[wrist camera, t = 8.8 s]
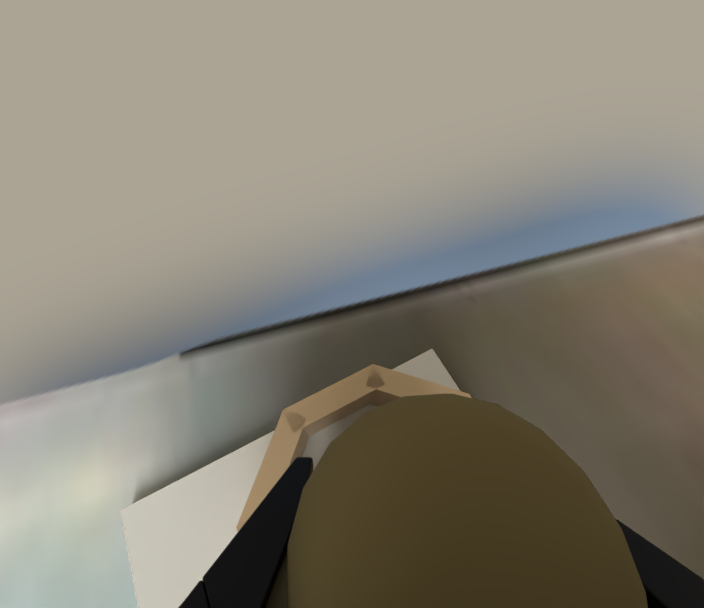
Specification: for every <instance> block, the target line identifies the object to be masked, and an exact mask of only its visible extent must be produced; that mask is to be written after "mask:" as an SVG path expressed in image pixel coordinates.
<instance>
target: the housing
mask: <svg viewBox="0 0 704 608" xmlns="http://www.w3.org/2000/svg"><path fill="white" fill-rule="evenodd" d="M444 393H446V394H456V395H461V396H465V397H469V398H471V396H470V395H469V393H465V392H462V391H460V390H459V388H458V387H457V385H456V383H455V382H454V380H453V379H452V377H451V376H450V374H449V373H448V371H447V370H446V368H445V367H444V365H443V364H442V362H441V361H440V359H439V358H438V356H437V355H436V353H435V352H434V350H433V349H430V350H428V351H426V352H425V353H423V354H421V355H419V356H417V357H415V358H413V359H411V360H409V361H407V362H405V363H403V364H401V365H399V366H398V367H396V368H394V369H392V370H391V369H388V368H385V367H381V366H378V365H375V364H372V365H370V366H368V367H366V368H364V369H362V370H360V371H358V372H356V373H354V374H352V375H350V376H348V377H346V378H344V379H342V380H340V381H338V382H336V383H334V384H332V385H331V386H329V387H327V388H325V389H323V390H321V391H319V392H317V393H315V394H313V395H311V396H309V397H307V398H305V399H303V400H301V401H299V402H297V403H295V404H293V405H291V406H289V407H287V408H285V409H283V411H282V414H281V416H280V419H279V421H278V424H277V426H276V429H275V430H274V431H272V432H270V433H268V434H266V435H264V436H263V437H261V438H259V439H257V440H255V441H253V442H251V443H249V444H247V445H245V446H243V447H241V448H239V449H237V450H236V451H234V452H232V453H230V454H228V455H226V456H224V457H222V458H220V459H218V460H216V461H214V462H212V463H210V464H209V465H207V466H205V467H203V468H201V469H199V470H197V471H195V472H193V473H191V474H189V475H187V476H185V477H183V478H182V479H180V480H178V481H176V482H174V483H172V484H170V485H168V486H166V487H164V488H162V489H160V490H158V491H156V492H155V493H153V494H151V495H149V496H147V497H145V498H143V499H141V500H139V501H137V502H135V503H133V504H131V505H129V506H128V507H126V508H124V509H122V510H120V513H121V518H122V524H123V529H124V535H125V540H126V546H127V551H128V557H129V562H130V568H131V573H132V579H133V584H134V590H135V595H136V601H137V606H138V608H178V607H179V606H180V605H181V604H182V602H183V601H184V600H185V599H186V598H187V596H188V595H189V594H190V592H191V591H192V590H193V589H194V587H195V586H196V585H197V583H198V582H199V581H201V580H202V578H203V576H204V575H205V573H206V572H207V571H208V570H209V568H210V567H211V566H212V564H213V563H214V562H215V561H216V559H217V558H218V557H219V556H220V554H221V553H222V552H223V550H224V549H225V548H226V547H227V545H228V544H229V543H230V541H231V540H232V539H233V538H234V536H235V535H236V534H237V533H238V531H239V530H240V529H241V527H242V526H243V525H244V524H245V522H246V521H247V520H248V518H249V517H250V516H251V515H252V513H253V512H254V511H255V510H256V508H257V507H258V506H259V504H260V503H261V502H262V501H263V499H264V498H265V497H266V495H267V494H268V493H269V492H270V490H271V489H272V488H273V487H274V485H275V484H276V483H277V481H278V480H279V479H280V478H281V476H282V475H283V474H284V472H285V471H286V470H287V469H288V467H289V466H290V465H291V463H292V462H293V461H294V460H295V458H297V457H311V458H312V459H313V471H314V469H315V467H316V466H317V464H318V462H319V461H320V459H321V457H322V456H323V454H324V452H325V451H326V449H327V447H328V446H329V444H330V443H331V442H332V441H333V440H334V439H335V438H337V437H338V436H339V435H340V434H341V433H342V432H343V431H344V430H345V429H347V428H348V427H349V426H350V425H351V424H352V423H353V422H354V421H356V420H357V419H358V418H359V417H360V416H361V415H362V414H363V413H365V412H368V411H370V410H372V409H375V408H377V407H379V406H382V405H384V404H386V403H389V402H391V401H393V400H396V399H398V398H401V397H403V396H416V395H430V394H444ZM202 581H203V580H202Z"/></svg>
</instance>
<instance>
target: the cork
mask: <svg viewBox="0 0 704 608" xmlns="http://www.w3.org/2000/svg"><path fill="white" fill-rule="evenodd" d="M287 608H648V605H647V597H646V592H645V589H644V586H643V584H642V581H641V578H640V576H639V573H638V571H637V568H636V565H635V563H634V560H633V557H632V555H631V552H630V549H629V547H628V544H627V541H626V539H625V536H624V533H623V531H622V529H621V527H620V525H619V524H618V522H617V521H616V519H615V518H614V516H613V515H612V513H611V512H610V510H609V509H608V507H607V506H606V504H605V502H604V501H603V499H602V498H601V496H600V495H599V493H598V492H597V490H596V489H595V487H594V486H593V484H592V482H591V481H590V479H589V478H588V477H587V475H586V474H585V473H584V471H583V470H582V469H581V467H580V466H578V465H577V464H576V463H575V462H574V461H573V460H572V459H571V458H570V457H569V456H568V455H567V454H566V453H565V452H564V451H563V450H562V449H561V448H560V447H559V446H558V445H557V444H556V443H555V442H554V441H553V440H552V439H550V438H549V437H548V436H547V435H546V434H545V433H544V432H543V431H542V430H541V429H540V428H538V427H536V426H534V425H533V424H531V423H529V422H527V421H526V420H524V419H522V418H520V417H519V416H517V415H515V414H513V413H512V412H510V411H508V410H506V409H505V408H503V407H501V406H499V405H497V404H493V403H489V402H485V401H481V400H477V399H473V398H469V397H465V396H461V395H456V394H446V393H444V394H430V395H416V396H403V397H401V398H398V399H396V400H393V401H391V402H389V403H386V404H384V405H382V406H379V407H377V408H375V409H372V410H370V411H368V412H365V413H363V414H362V415H361V416H360V417H359V418H358V419H357V420H356V421H354V422H353V423H352V424H351V425H350V426H349V427H348V428H347V429H345V430H344V431H343V432H342V433H341V434H340V435H339V436H338V437H337V438H335V439H334V440H333V441H332V442H331V443H330V444H329V446H328V447H327V449H326V451H325V452H324V454H323V456H322V457H321V459H320V461H319V462H318V464H317V466H316V467H315V469H314V471H313V472H312V474H311V476H310V477H309V479H308V481H307V482H306V484H305V486H304V487H303V490H302V494H301V498H300V501H299V505H298V509H297V512H296V516H295V520H294V523H293V527H292V531H291V534H290V538H289V542H288V558H287Z"/></svg>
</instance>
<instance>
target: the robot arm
mask: <svg viewBox="0 0 704 608" xmlns="http://www.w3.org/2000/svg"><path fill="white" fill-rule="evenodd" d="M312 472H313V459H312V458H311V457H297V458H295V460H294V461H293V462H292V463H291V465H290V466H289V467H288V469H287V470H286V471H285V472H284V474H283V475H282V476H281V478H280V479H279V480H278V481H277V483H276V484H275V485H274V487H273V488H272V489H271V490H270V492H269V493H268V494H267V495H266V497H265V498H264V499H263V501H262V502H261V503H260V504H259V506H258V507H257V508H256V510H255V511H254V512H253V513H252V515H251V516H250V517H249V518H248V520H247V521H246V522H245V524H244V525H243V526H242V527H241V529H240V530H239V531H238V533H237V534H236V535H235V536H234V538H233V539H232V540H231V541H230V543H229V544H228V545H227V547H226V548H225V549H224V550H223V552H222V553H221V554H220V556H219V557H218V558H217V559H216V561H215V562H214V563H213V564H212V566H211V567H210V568H209V570H208V571H207V572H206V573H205V575H204V576H203V578H202V580H203V581H202V580H201V581H199V582H198V583H197V585H196V586H195V587H194V589H193V590H192V591H191V592H190V594H189V595H188V596H187V598H186V599H185V600H184V601H183V602H182V604H181V605H180V606H179V607H178V608H287V558H288V542H289V538H290V534H291V531H292V527H293V523H294V520H295V516H296V512H297V509H298V505H299V501H300V498H301V494H302V490H303V487H304V486H305V484H306V482H307V481H308V479H309V477H310V476H311V474H312ZM615 519H616V518H615ZM616 521H617V522H618V524H619V525H620V527H621V529H622V531H623V533H624V536H625V539H626V541H627V544H628V547H629V549H630V552H631V555H632V557H633V560H634V563H635V565H636V568H637V571H638V573H639V576H640V578H641V581H642V584H643V586H644V589H645V592H646V597H647V605H648V608H704V580H703V579H702V578H701V577H700V576H698V575H697V574H695V573H694V572H692V571H691V570H689V569H688V568H687V567H685V566H684V565H682V564H681V563H679V562H678V561H676V560H675V559H674V558H672V557H671V556H669V555H668V554H666V553H665V552H663V551H662V550H660V549H659V548H658V547H656V546H655V545H653V544H652V543H650V542H649V541H647V540H646V539H645V538H643V537H642V536H640V535H639V534H637V533H636V532H634V531H633V530H632V529H630V528H629V527H627V526H626V525H624V524H623V523H621V522H620V521H619V520H617V519H616Z"/></svg>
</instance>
